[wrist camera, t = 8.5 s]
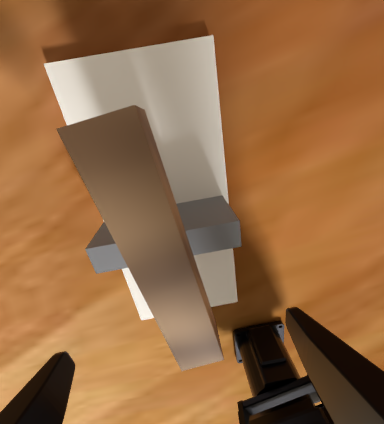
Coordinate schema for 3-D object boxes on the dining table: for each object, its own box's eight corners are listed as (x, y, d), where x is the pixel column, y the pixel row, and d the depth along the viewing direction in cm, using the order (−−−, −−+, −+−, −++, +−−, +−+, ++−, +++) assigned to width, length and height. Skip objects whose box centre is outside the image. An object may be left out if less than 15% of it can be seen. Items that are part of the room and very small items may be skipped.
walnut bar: (215, 320, 17) (223, 359, 14) (180, 330, 17) (181, 371, 14) (144, 109, 10) (134, 104, 7) (87, 127, 10) (56, 128, 7)
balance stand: (235, 295, 24) (254, 346, 18) (142, 312, 24) (133, 369, 18) (210, 40, 14) (235, -12, 9) (51, 67, 14) (-27, 32, 8)
